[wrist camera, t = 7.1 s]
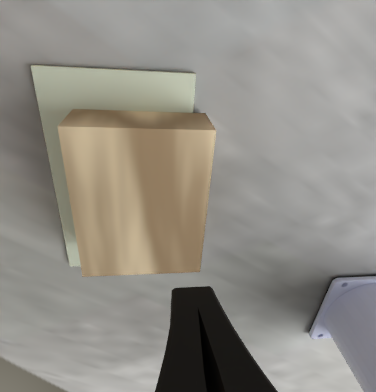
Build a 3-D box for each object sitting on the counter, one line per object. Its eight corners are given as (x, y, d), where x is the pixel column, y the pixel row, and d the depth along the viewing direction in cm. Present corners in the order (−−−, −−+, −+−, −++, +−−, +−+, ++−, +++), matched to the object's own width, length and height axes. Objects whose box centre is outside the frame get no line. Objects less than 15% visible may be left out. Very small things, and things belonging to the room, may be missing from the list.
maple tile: (216, 130, 13) (57, 126, 12) (199, 271, 18) (82, 276, 17) (205, 113, 16) (72, 108, 15) (193, 240, 20) (91, 243, 20)
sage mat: (195, 73, 15) (195, 73, 15) (182, 259, 22) (182, 262, 21) (32, 64, 14) (30, 65, 14) (70, 263, 21) (69, 266, 20)
